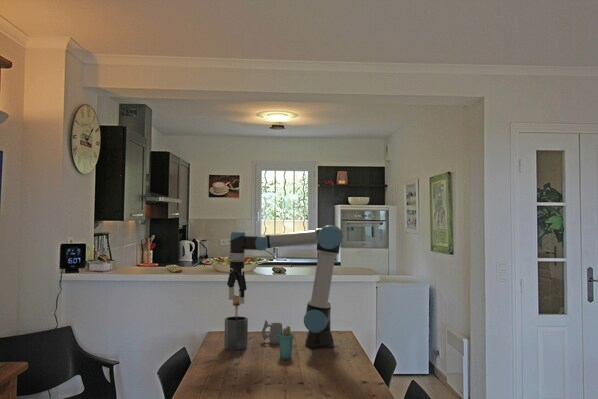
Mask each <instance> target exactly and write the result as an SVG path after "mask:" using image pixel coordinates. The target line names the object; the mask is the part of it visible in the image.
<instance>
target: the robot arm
mask: <svg viewBox="0 0 598 399" xmlns="http://www.w3.org/2000/svg"><path fill="white" fill-rule="evenodd" d="M245 233H246V232H245V231H231V233H230V239H229V241H230V242H229V244H230V246H229V248H230V250H229V252H230V253H229V256H228V257H229V260H230V261H229V274H228V280H227V286H228V300H229V301H233V295H235V286H236V285H235V284H236V281H237V285H238V288H239V289H238V295H239V304H240V305H241V304H242V305H243V304H245V292H246V291H247V288H248V287H247V283H246V278H245V271H244V270H243V269H245V250H246V251H266V250H267V249H272V248H273V249H274V248H277V249H278V248H287V247H288V248H289V247H298V246H299V247H301V246H311V245H312V246H313V245H314V246H315V245H316V251H317V253H318V257H317V261H316V268H315V275H314V281H313V287H312V293H311V299H310V300H309V301H308V302H307V304H306V305H307V306H306V310H305V314H304V316H303V325H304V327H305V328H306V330H308V332H307V335H306V339H305V342H304V343H305V347H308V348H311V349H319V350H320V349H329V348H333V347H334V346H335V345H334V338H333V335H332V332H331V310H332V307H331V302H330V301H329V298H330V290H331V286H332V278H333V272H334V268H335V261H336V256H338V255H339V254H340V249H341V243H342V241H343V232H342V230H341V228H340V227H339V226H336V225H333V224H327V225H324V226H322V227H320V228H319V227H318V228H316V229H315V230H306V231H305V230H304V231H294V232H283V233H272V234H259V235H246V234H245Z"/></svg>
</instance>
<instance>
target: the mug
mask: <svg viewBox="0 0 598 399" xmlns="http://www.w3.org/2000/svg"><path fill="white" fill-rule="evenodd" d="M267 328H269V333H268V334H266V329H267ZM283 329H284V328H283V324H282V323H281V322H272V323H268V321H267V319H265V320H264V324H263V327H262V330H261V336H262V339H263V341H266V340H267V339H268V340H269V343H271V344H275V345H276V344H279V337H278V334H281V333H283Z"/></svg>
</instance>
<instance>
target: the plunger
mask: <svg viewBox="0 0 598 399" xmlns="http://www.w3.org/2000/svg"><path fill="white" fill-rule="evenodd" d="M232 306H233V307H234V308H235V313H234V315H235V321H237V319H238V316H239V315H238V314H239V313H238V310H239V309H238V308H239V306H241V304H239V294H234V295H233V300H232Z"/></svg>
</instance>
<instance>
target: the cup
mask: <svg viewBox="0 0 598 399" xmlns="http://www.w3.org/2000/svg"><path fill="white" fill-rule="evenodd" d="M282 329H283V331H282V333H281V334H278V337H279V343H278V346H279V349H278V350H279V357H280V358H281V359H291V358H292V350H293V349H292V348H293V339H294V334H293V333H291V327H290V326H289V325H287V326H286V327H284V328H282Z"/></svg>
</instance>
